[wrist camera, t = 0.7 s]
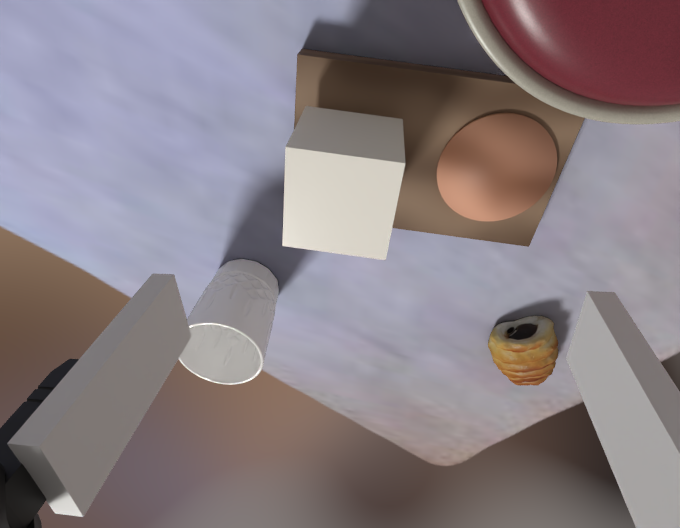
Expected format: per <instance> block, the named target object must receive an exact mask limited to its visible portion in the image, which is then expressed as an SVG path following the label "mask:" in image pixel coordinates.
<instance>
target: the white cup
mask: <svg viewBox="0 0 680 528" xmlns="http://www.w3.org/2000/svg"><path fill="white" fill-rule="evenodd" d="M278 294H279V287H278V281H277V279H276V277H275V276H274V275H273V274H272V272H271V271H270V270H269V269H268V268H266V267H265V266H263V265H261V264H260V263H258V262H256V261H251V260H246V259H238V260H232V261H228V262H227V263H225V264H224V265H223V266H222V267H220V268H219V269H218V271H217V272H216V274H215V276H214V278H213V279H212V281H211V282H210V283H209V285H208V286H207V287H206V289H205V290H204V292H203V294H202V295H201V297H200V298H199V300H198V301H197V303H196V305H195V306H194V308H193V310H192V311H191V313H190V315H189V316H188V318H187V322H188V325H189V329H190V333H191V336H192V337H191V338H190V340H189V342H188V343H187V345H186V347H185V348H184V350H183V352H182V353H181V355H180V357H179V358H178V359H179V360H180V362H181V363H182V364H183V365H184V366H185V367H186V368H187V369H188V370H189V371H191V372H192V373H194V374H196V375H197V376H199V377H201V378H203V379H206V380H208V381H211V382H215V383H220V384H240V383H244V382H247V381H249V380H251V379H253V378H255V377H256V376H257V375H258V374H259V373H260V371H261V370H262V367H263V363H264V359H265V355H266V350H267V346H268V342H269V338H270V334H271V330H272V325H273V319H274V315H275V307H276V302H277V298H278Z"/></svg>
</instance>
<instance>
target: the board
mask: <svg viewBox="0 0 680 528" xmlns="http://www.w3.org/2000/svg"><path fill="white" fill-rule="evenodd" d="M306 106H310V107H318V108H325V109H333V110H340V111H347V112H355V113H362V114H369V115H377V116H384V117H392V118H399V119H403V131H404V148H405V168H404V173H403V178H402V183H401V187H400V192H399V197H398V202H397V207H396V212H395V217H394V222H393V226H392V228H398V229H405V230H412V231H420V232H427V233H434V234H441V235H449V236H456V237H463V238H470V239H478V240H485V241H492V242H499V243H507V244H514V245H521V246H528V247H529V245H530V243H531V240H532V238H533V236H534V234H535V231H536V229H537V227H538V224H539V222H540V220H541V217H542V215H543V213H544V210H545V208H546V206H547V204H548V201H549V199H550V197H551V194H552V192H553V190H554V187H555V185H556V183H557V181H558V178H559V176H560V174H561V171H562V169H563V167H564V164H565V162H566V160H567V157H568V155H569V153H570V151H571V148H572V146H573V144H574V141H575V139H576V137H577V134H578V132H579V130H580V128H581V125H582V123H583V121H584V118H583V117H579V116H576V115H573V114H570V113H567V112H564V111H562V110H559V109H557V108H555V107H552V106H550V105H548V104H546V103H544V102H543V101H541V100H539V99H537V98H536V97H534V96H532V95H531V94H529V93H528V92H526V91H525V90H524V89H522V88H521V87H520V86H518V85H517V84H516V83H515V82H513V81H512V80H511V79H510V78H509V77H508V76H503V75H495V74H488V73H480V72H473V71H465V70H458V69H450V68H443V67H435V66H428V65H421V64H413V63H406V62H398V61H391V60H383V59H376V58H368V57H361V56H353V55H346V54H338V53H331V52H323V51H316V50H308V49H301V51H300V52H299V53H298V55H297V77H296V100H295V122H294V129H295V127H296V125H297V123H298V121H299V119H300V117H301V115H302V113H303V111H304V109H305V107H306Z"/></svg>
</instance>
